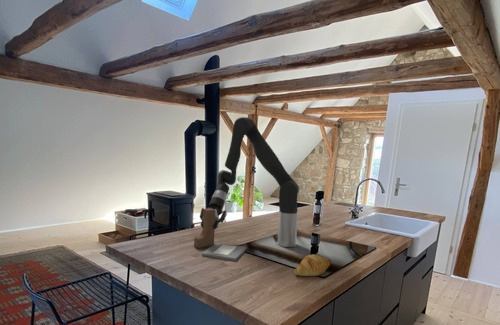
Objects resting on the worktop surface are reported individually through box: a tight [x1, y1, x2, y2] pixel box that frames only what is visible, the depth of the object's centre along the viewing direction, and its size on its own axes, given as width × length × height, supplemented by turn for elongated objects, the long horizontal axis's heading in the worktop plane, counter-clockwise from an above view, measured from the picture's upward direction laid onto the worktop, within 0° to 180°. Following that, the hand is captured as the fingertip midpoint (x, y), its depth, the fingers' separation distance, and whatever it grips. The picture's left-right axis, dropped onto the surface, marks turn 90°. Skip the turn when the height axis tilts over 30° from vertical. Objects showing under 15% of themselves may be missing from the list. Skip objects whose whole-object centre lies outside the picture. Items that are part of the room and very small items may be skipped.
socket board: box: [201, 242, 247, 262], centre depth 133 cm, size 16×16×1 cm
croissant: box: [293, 254, 331, 277], centre depth 117 cm, size 21×10×8 cm, turn 128°
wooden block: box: [193, 207, 216, 249], centre depth 141 cm, size 9×4×18 cm, turn 128°
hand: (208, 227), depth 142 cm, fingers closed on wooden block, 6 cm apart
